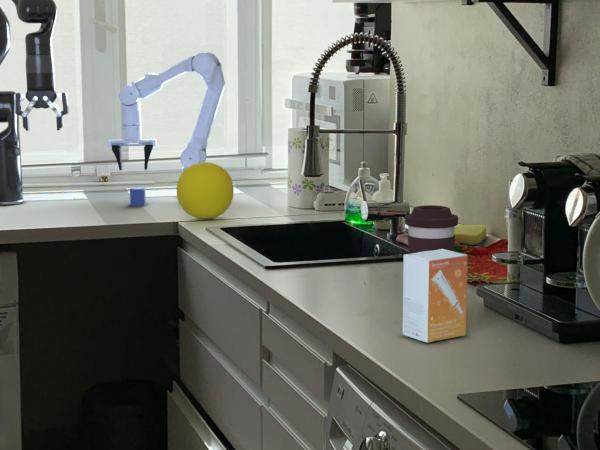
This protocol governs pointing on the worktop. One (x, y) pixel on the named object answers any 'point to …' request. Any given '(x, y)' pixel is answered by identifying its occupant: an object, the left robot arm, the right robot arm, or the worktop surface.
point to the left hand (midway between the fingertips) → (43, 130)
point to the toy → (205, 190)
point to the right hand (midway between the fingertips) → (133, 169)
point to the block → (137, 196)
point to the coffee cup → (431, 228)
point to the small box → (434, 295)
